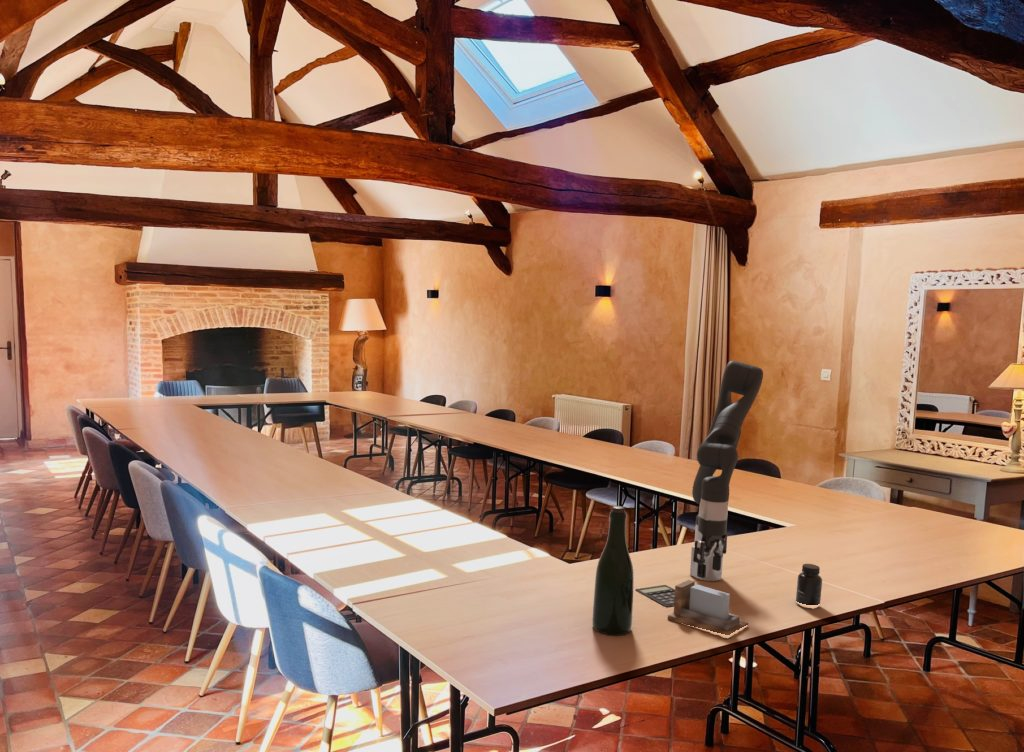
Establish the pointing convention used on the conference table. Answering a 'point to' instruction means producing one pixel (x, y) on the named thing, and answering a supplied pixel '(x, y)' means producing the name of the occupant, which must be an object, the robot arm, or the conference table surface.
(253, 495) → the conference table surface
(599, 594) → the dark green wine bottle
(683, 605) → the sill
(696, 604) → the gray rectangular block
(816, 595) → the supplement bottle
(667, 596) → the calculator
